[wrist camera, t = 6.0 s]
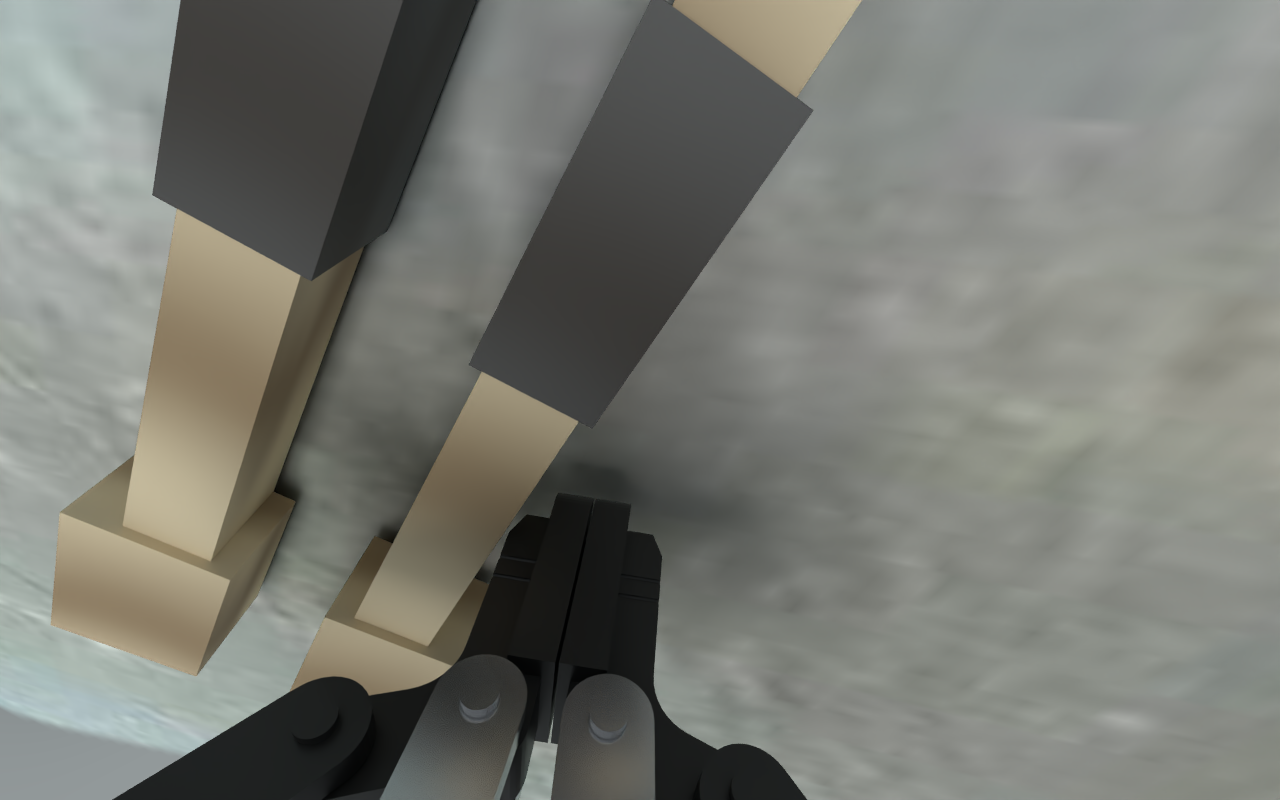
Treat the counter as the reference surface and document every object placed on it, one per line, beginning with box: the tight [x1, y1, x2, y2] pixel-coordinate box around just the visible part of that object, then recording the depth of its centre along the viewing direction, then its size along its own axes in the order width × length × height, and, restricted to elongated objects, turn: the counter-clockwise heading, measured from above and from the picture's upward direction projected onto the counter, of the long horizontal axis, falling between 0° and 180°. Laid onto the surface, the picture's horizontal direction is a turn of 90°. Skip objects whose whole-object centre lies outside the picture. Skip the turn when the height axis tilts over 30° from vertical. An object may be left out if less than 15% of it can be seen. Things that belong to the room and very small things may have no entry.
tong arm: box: [290, 0, 862, 695], centre depth 10 cm, size 18×3×2 cm, turn 149°
